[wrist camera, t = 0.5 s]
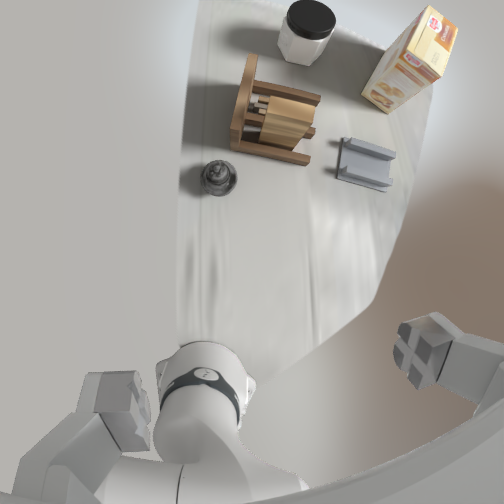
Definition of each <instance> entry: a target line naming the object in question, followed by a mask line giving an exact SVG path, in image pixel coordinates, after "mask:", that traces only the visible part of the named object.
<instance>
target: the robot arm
mask: <svg viewBox="0 0 504 504" xmlns="http://www.w3.org/2000/svg"><path fill="white" fill-rule="evenodd" d="M397 334H398V335H399V339H398V340H397V341H396V343H395V345H394V350H393V355H394V360H395V363H396V365H397V366H398V367H399V369H400V370H402V371H405V372H407V378H408V379H409V381H410V382H411V383H412V384H413V385H414V387H415V388H416V389H417V390H420V389H422V388H425V387H427V386H429V385H432V384H435V383H437V384H438V385H440V386H442V387H444V388H446V389H448V390H450V391H452V392H454V393H456V394H458V395H460V396H462V397H464V398H466V399H468V400H470V401H472V402H474V403H476V404H478V407H477V409H476V411H475V412H474V415H473V418H471V419H470V420H468V421H467V422H465V423H463V424H462V425H460V426H458V427H457V428H455V429H453V430H451V431H450V432H448V433H446V434H444V435H442V436H440V437H439V438H437V439H435V440H433V441H431V442H429V443H427V444H425V445H423V446H421V447H419V448H417V449H415V450H413V451H411V452H409V453H407V454H404V455H402V456H400V457H398V458H395V459H393V460H391V461H388V462H386V463H384V464H381V465H379V466H376V467H374V468H371V469H369V470H366V471H363V472H361V473H358V474H355V475H353V476H349V477H346V478H344V479H341V480H338V481H334V482H331V483H328V484H325V485H321V486H319V487H315V488H311V489H310V488H309V487H308V485H307V484H306V483H305V482H304V481H303V480H302V479H301V478H300V477H299V476H298V475H296V474H295V473H292V472H289V471H285V470H282V469H279V468H277V467H274V466H272V465H270V464H268V463H266V462H264V461H263V460H261V459H259V458H258V457H256V456H255V455H254V454H252V453H251V452H250V451H249V450H248V449H247V448H246V447H245V446H244V445H243V444H242V443H241V441H240V439H239V434H238V431H239V430H240V428H241V425H242V420H241V417H242V415H245V412H246V407H247V405H248V403H249V401H250V399H251V397H252V395H253V393H254V390H255V389H256V381H255V380H254V379H253V378H252V377H251V376H250V375H249V374H247V373H246V371H245V370H244V368H243V365H242V363H241V362H240V360H239V359H238V357H237V356H236V355H235V354H234V353H233V352H232V351H230V350H229V349H228V348H226V347H224V346H222V345H219V344H216V343H212V342H195V343H191V344H188V345H186V346H184V347H182V348H181V349H179V350H178V351H177V352H176V353H175V354H174V355H173V356H172V357H170V358H168V359H165V360H162V361H160V362H159V363H157V365H156V376H157V385H158V394H159V402H160V414H159V417H158V419H157V422H156V425H155V427H154V431H153V442H154V446H155V449H156V450H157V452H158V454H159V456H160V457H161V458H162V460H163V461H164V462H160V461H153V460H146V459H140V458H134V457H128V456H121V455H122V453H121V452H139V451H150V432H149V429H148V427H147V425H148V423H149V422H150V417H151V414H150V405H149V401H148V397H147V394H146V391H144V390H143V389H141V378H140V375H139V373H138V372H137V371H115V372H93V373H92V372H89V373H88V374H87V375H86V376H85V380H84V383H83V387H82V390H81V394H80V398H79V401H78V405H77V409H76V413H70V414H69V415H68V416H67V417H66V418H65V419H64V420H62V421H61V422H60V423H59V424H58V425H57V426H56V427H55V428H54V429H53V430H51V431H50V432H49V433H48V434H47V435H46V436H45V437H44V438H43V439H42V440H41V441H39V442H38V443H37V444H36V445H35V446H34V447H33V448H32V449H31V450H30V451H29V452H27V453H26V454H25V455H24V456H23V457H22V458H21V460H20V463H19V466H18V470H17V474H16V478H15V482H14V486H13V490H12V494H7V493H4V492H0V504H504V344H503V343H499V342H496V341H492V340H489V339H486V338H482V337H479V336H475V335H472V334H465V333H463V332H462V331H461V330H460V329H459V328H457V327H456V326H455V325H454V324H453V323H451V322H450V321H449V320H448V319H447V318H445V317H444V316H443V315H442V314H441V313H438V312H433V313H430V314H427V315H425V316H422V317H419V318H415V319H412V320H409V321H405V322H402V323H401V324H400V326H399V328H398V332H397ZM161 373H162V374H161ZM248 389H249V391H248Z"/></svg>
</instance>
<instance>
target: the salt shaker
mask: <svg viewBox="0 0 504 504" xmlns="http://www.w3.org/2000/svg"><path fill="white" fill-rule="evenodd" d="M201 183H202V186H203V188H204V189H205V190H206V191H207V192H208V193H210V194H212V195H214V196H225V195H227V194H229V193H230V192H231V191H232V190H233V189H234V187H235V185H236V183H237V173H236V170H235V168H234V167H233V166H232V165H231V164H230V163H228V162H226V161H223V160H216V161H212V162H210V163H209V164H207V165H206V166H205V167H204V169H203V171H202V173H201Z"/></svg>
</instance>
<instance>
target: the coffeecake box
mask: <svg viewBox="0 0 504 504" xmlns="http://www.w3.org/2000/svg"><path fill="white" fill-rule="evenodd" d="M457 31H458V28H456V26H454V25H453V24H452V23H451V22H450V21H448V20H447V19H446V18H445V17H443V16H442V15H441V14H439V12H437V11H436V10H435V9H433V8H432V7H431V6H429V5H428V6H427V7H426V8H425V9H424V10H423V11H422V12H421V13H420V14H419V15H418V16H417V17H416V19H415V20H414V21H413V22H412V23H411V24H410V25H409V26H408V27H407V28H406V29H405V30H404V32H403V33H402V34H401V35H400V36H399V37H398V38H397V39H396V40H395V42H394V43H393V44H392V45H391V46H390V47H389V48H388V49H387V50H386V51H385V53H384V54H383V56H382V58H381V60H380V61H379V63H378V65H377V67H376V68H375V70H374V72H373V74H372V75H371V77H370V79H369V81H368V82H367V84H366V86H365V88H364V89H363V91H362V93H361V95H362V96H363V97H365V98H366V99H368V100H369V101H371V102H372V103H373V104H375V105H376V106H377V107H379V108H380V109H381V110H383V111H384V112H385V113H387V114H389V113H390V112H392V111H393V110H395V109H396V108H397V107H399V106H400V105H402V104H403V103H404V102H406V101H407V100H409V99H410V98H412V97H413V96H414V95H416V94H417V93H419V92H420V91H421V90H423V89H424V88H426V87H427V86H429V85H430V84H432V83H433V82H434V81H436V80H437V79H439V78H440V77H442V74H443V72H444V69H445V67H446V64H447V61H448V58H449V55H450V53H451V50H452V47H453V43H454V41H455V38H456V35H457Z"/></svg>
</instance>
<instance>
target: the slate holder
mask: <svg viewBox="0 0 504 504" xmlns="http://www.w3.org/2000/svg"><path fill="white" fill-rule="evenodd" d="M395 158H396V152H394V151H392V150H389V149H386V148H383V147H380V146H377V145H374V144H371V143H368V142H365V141H362V140H358V139H355V138H350V139H349V138H346V137H344V138H343V143H342V149H341V156H340V162H339V169H338V175H337V179H340V180H344V181H347V182H351V183H355V184H358V185H362V186H365V187H369V188H372V189H375V190H379V191H382V192H387V187H388V186H392V183H393V179H392V178H389V170H390V162H391V160H392V159H395Z"/></svg>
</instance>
